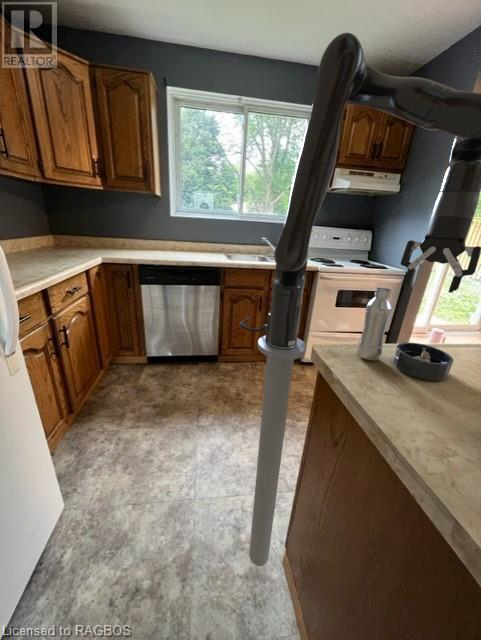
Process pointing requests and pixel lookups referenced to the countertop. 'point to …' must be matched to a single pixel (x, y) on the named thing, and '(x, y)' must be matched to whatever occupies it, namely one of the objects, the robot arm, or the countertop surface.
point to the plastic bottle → (375, 325)
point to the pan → (422, 362)
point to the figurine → (423, 356)
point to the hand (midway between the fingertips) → (428, 288)
